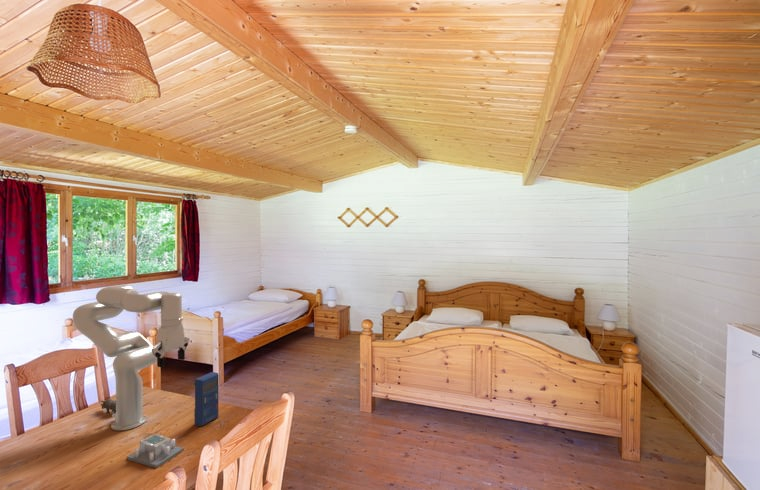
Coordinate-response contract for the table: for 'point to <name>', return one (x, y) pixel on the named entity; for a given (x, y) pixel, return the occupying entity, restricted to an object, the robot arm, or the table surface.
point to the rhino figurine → (109, 405)
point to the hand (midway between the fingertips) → (171, 363)
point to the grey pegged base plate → (150, 460)
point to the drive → (155, 445)
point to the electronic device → (206, 398)
